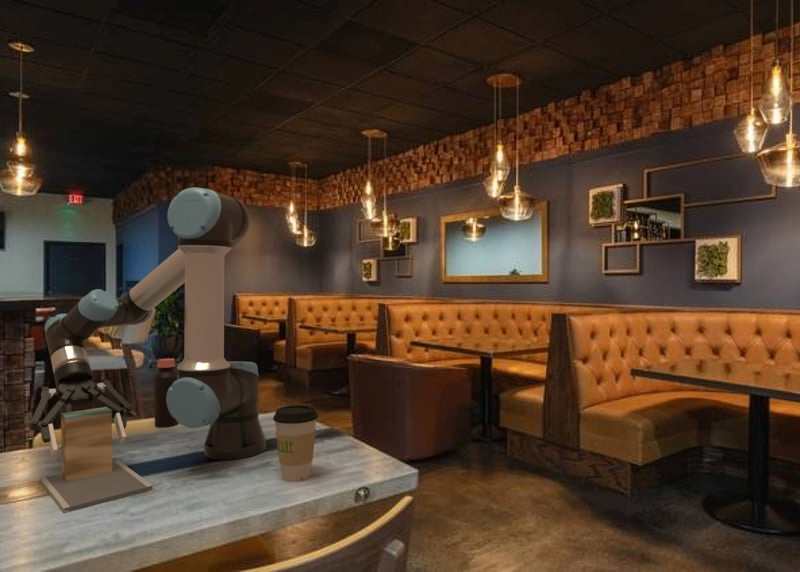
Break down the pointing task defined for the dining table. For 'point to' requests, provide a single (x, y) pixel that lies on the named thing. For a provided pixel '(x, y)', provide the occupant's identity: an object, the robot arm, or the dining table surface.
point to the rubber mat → (94, 488)
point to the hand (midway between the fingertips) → (90, 446)
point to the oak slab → (86, 443)
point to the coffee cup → (295, 440)
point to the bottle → (164, 392)
